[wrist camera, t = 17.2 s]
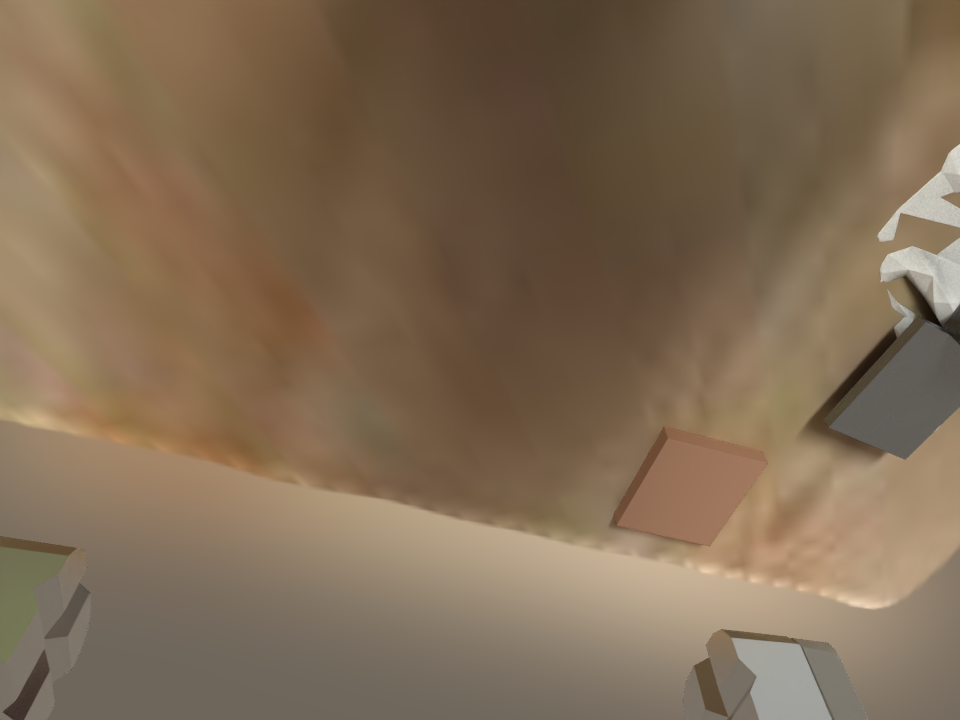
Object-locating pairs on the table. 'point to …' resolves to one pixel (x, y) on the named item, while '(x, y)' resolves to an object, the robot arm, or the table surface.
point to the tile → (689, 486)
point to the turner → (905, 390)
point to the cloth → (940, 277)
